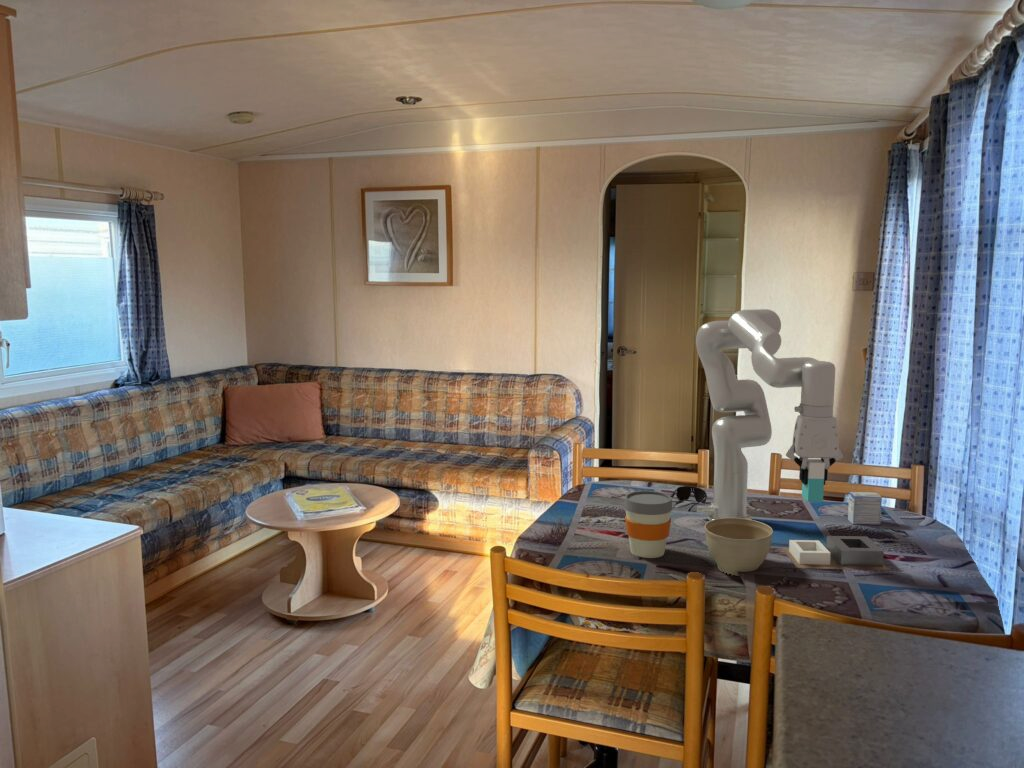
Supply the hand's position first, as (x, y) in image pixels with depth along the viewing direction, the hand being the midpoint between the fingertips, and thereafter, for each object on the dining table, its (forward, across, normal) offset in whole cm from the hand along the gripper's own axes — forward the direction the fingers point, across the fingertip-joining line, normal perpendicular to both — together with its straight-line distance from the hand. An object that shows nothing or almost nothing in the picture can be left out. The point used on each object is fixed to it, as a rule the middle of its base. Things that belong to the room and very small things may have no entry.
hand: (812, 482), depth 185 cm
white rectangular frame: (+20, 0, 0) cm, 20 cm away
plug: (+4, 0, 0) cm, 4 cm away
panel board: (+21, +6, 0) cm, 22 cm away
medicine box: (+21, +26, +33) cm, 47 cm away
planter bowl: (+21, -19, -5) cm, 29 cm away
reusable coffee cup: (+21, -40, +6) cm, 46 cm away
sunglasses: (+22, -24, +47) cm, 57 cm away
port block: (+20, +11, 0) cm, 22 cm away
